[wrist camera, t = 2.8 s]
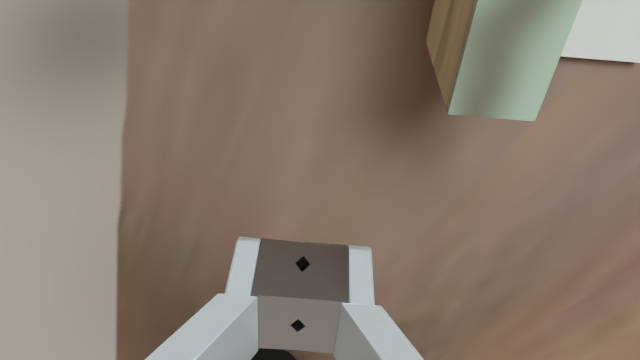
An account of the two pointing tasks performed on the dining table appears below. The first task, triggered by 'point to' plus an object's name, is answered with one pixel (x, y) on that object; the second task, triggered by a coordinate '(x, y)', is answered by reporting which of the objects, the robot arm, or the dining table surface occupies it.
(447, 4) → the oak block
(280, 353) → the pen holder
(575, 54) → the felt mat
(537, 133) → the dining table surface
